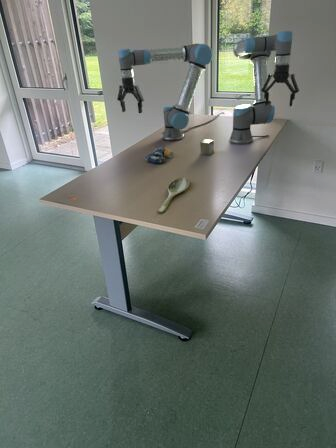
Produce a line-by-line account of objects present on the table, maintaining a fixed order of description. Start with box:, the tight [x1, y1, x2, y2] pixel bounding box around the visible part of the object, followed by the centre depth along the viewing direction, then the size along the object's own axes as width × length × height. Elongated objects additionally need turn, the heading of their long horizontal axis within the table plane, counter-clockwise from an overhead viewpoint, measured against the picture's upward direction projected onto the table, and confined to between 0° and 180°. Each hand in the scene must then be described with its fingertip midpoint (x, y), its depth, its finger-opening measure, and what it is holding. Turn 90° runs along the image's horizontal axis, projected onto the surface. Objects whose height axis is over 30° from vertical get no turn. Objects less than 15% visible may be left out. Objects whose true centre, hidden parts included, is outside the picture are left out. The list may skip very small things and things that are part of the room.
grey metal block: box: [199, 138, 215, 156], centre depth 213 cm, size 6×6×8 cm
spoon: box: [157, 177, 191, 213], centre depth 166 cm, size 35×11×2 cm, turn 159°
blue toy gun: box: [144, 147, 175, 165], centre depth 212 cm, size 21×4×15 cm
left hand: (132, 112), depth 218 cm, fingers open, 13 cm apart
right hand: (278, 105), depth 190 cm, fingers open, 13 cm apart
